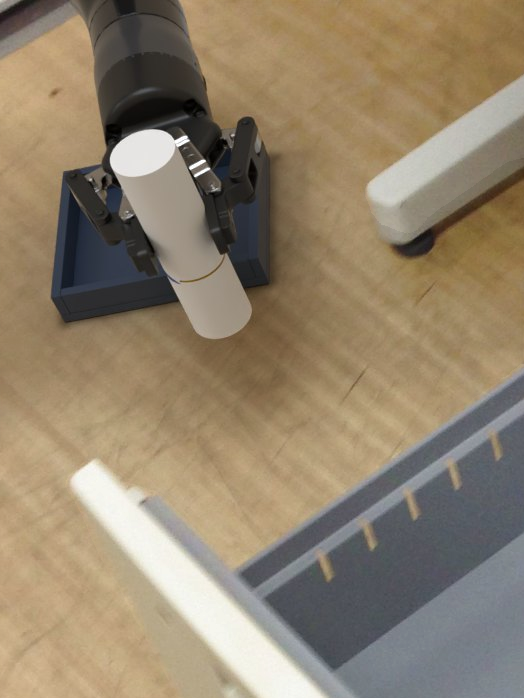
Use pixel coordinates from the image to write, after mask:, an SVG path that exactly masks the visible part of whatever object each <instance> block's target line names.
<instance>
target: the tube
mask: <svg viewBox="0 0 524 698" xmlns="http://www.w3.org/2000/svg"><path fill="white" fill-rule="evenodd" d="M110 164H111V167H112V169H113V171H114V173H115V175H116V177H117V179H118V181H119V183H120V185H121V187H122V189H123V191H124V193H125V194H126V196H127V198H128V200H129V202H130V204H131V206H132V208H133V210H134V212H135V214H136V216H137V218H138V220H139V222H140V224H141V226H142V228H143V230H144V232H145V234H146V235H147V237H148V239H149V241H150V243H151V245H152V247H153V249H154V251H155V253H156V255H157V257H158V259H159V261H160V263H161V265H162V267H163V269H164V271H165V272H166V275H167V277H168V279H169V281H170V283H171V285H172V287H173V288H174V290H175V292H176V294H177V296H178V298H179V302H180V304H181V306H182V308H183V310H184V312H185V314H186V316H187V318H188V319H189V322H190V323H191V327H193V330H194V331H195V332H196V334H197V335H199V336H200V337H203V338H205V339H209V340H219V339H224V338H228V337H230V336H233V335H235V334H236V333H238V332H239V331H241V330H242V329H243V328H244V327H245V326H246V325H247V324H248V323H249V321H250V319H251V316H252V314H253V313H252V312H253V309H252V304H251V302H250V300H249V298H248V296H247V293H246V291H245V288H243V287H242V285H241V283H240V281H239V278H238V276H237V274H236V272H235V270H234V268H233V266H232V263H231V261H230V259H229V257H228V255H227V253H226V254H223V255H220V253H219V251H218V249H217V247H216V245H215V243H214V241H213V238H212V236H211V233H210V230H209V225H208V221H207V216H206V212H205V206H204V203H203V201H202V199H201V197H200V194H199V192H198V190H197V188H196V186H195V184H194V182H193V179H192V177H191V175H190V173H189V171H188V169H187V167H186V164H185V162H184V160H183V158H182V156H181V154H180V151H179V149H178V147H177V145H176V143H175V141H174V139H173V137H172V136H171V135H170V134H168V133H167V132H164V131H162V130H154V129H150V130H143V131H139V132H136V133H134V134H131V135H129V136H128V137H126V138H124V139H123V140H122V141H120V142H119V143H118V144H117V145H116V147H115V148H114V149H113V151H112V153H111V156H110Z"/></svg>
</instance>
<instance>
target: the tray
mask: <svg viewBox="0 0 524 698" xmlns="http://www.w3.org/2000/svg"><path fill="white" fill-rule="evenodd" d="M231 154H232V153H231V151H230V149H227V148H226V150H225V152H224V154H223V155H222V157H221V158H220V160H219V162H218V163H217V165H216V166H215V168H214V169H213V173H214V174H215V175H216V176H217V178H218V179H219V180H220V181H221V180H222V179H224V178H226V177H227V176H229V175H228V169H229V164H230V159H231ZM270 162H271V160H270V156H269V154H268V151H267V148H265V154H264V159H263V165H262V171H261V176H260V182H259V187H258V193H257V198H256V200H255V201H254V202H253V203H251V204H242V203H241V202H240V203H239V204H237V205H236V206H235V207H234V208H233V212H232V216H233V221H234V225H235V229H236V233H237V239H236V242H235V243H232V244H229V246H230V250H231V252H229V253H227V255H228V257H229V259H230V261H231V263H232V266H233V268H234V270H235V272H236V274H237V276H238V278H239V281H240V283H241V285H242V287H243V289H247V288H251V287H257V286H262V285H267V284H270V196H271V195H270V194H271V193H270V190H271V189H270V184H271V183H270V181H271V179H270V177H271V176H270V174H271V173H270V167H271V166H270V165H271V164H270ZM100 167H102V164H101V163H100V164H95V165H89V166H84V167H79V168H75V169H69V170H64V171H62V177H61V178H62V179H61V189H60V197H59V208H58V210H59V211H58V217H57V226H56V227H57V229H56V230H57V231H56V238H55V239H56V240H55V247H54V259H53V269H52V279H51V288H50V300H51V301H52V303H53V305H54V306H55V308H56V310H57V311H58V313H59V315H60V317H61V319H62V320H63V322H64V323H69V322H74V321H75V322H76V321H80V320H86V319H90V318H96V317H101V316H105V315H106V316H107V315H112V314H117V313H122V312H127V311H132V310H138V309H143V308H147V307H152V306H158V305H163V304H168V303H173V302H178V301H179V302H180V300H179V298H178V296H177V294H176V292H175V290H174V288H173V287H172V285H171V283H170V281H169V279H168V277H167V275H166V272H165V271H164V269H163V267H162V265H161V263H160V261H159V259H158V257H157V255H156V253H155V255H156V260H157V265H158V271H159V275H155V276H152V277H148V276H147V274H146V272H145V271H142V272H138V271H137V270H136V268H135V267H134V265H133V263H132V261H131V259H130V257H129V255H128V253H127V247H126V243H125V240H122V241H121V242H120V243H119V244H118V245H115V246H108V245H107V244H106V243H105V242H104V240H103V239H102V237H101V236H100V235H99V233H98V232H97V230H96V229H95V227H94V226H93V225H92V223H91V222H90V220H89V219H88V218H87V216H86V215H85V213H84V212H83V211H82V209H81V208H80V206H79V204H78V203H77V201H76V199H75V197H74V195H73V193H72V192H71V190H70V188H69V186H68V184H67V182H66V180H65V175H66V174H67V173H68V172H69V171H72V170H80V171H81V172H82V174H83V175H84V176H85V175H87V174H89V173H91V172H93V171H94V170H96V169H98V168H100ZM106 191H107V197H106V199H105V201H106V207H107V208H108V210H109V212H119V209H120V205H121V201H122V196H123V194H122V190H121V189H119V188H117V187H116V186H114V185H112V184H110V185H109V186H108V187H107V190H106ZM202 201H203V200H202Z"/></svg>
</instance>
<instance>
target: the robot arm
mask: <svg viewBox="0 0 524 698" xmlns="http://www.w3.org/2000/svg"><path fill="white" fill-rule="evenodd" d="M67 1H68V2H69V4H70V5H71V6H72V8H73V9H74V11H76V13H77V14H78V15H79V16H80V18H81V19H82V20H83V22H84V25H85V26H86V28H87V31H88V34H89V38H90V42H91V43H90V44H91V50H92V56H93V80H94V88H95V93H96V98H97V104H98V111H99V116H100V122H101V127H102V134H103V138H104V143H105V152H104V154H103V156H102V159H101V163H100V164H102V167H100V168H98V169H96V170H94V171H93V172H91V173H89V174H87V175H85V176H84V175H83V174H82V172H81V171H80V170H74V169H71V170H72V171H69V172H68V173H67V174H66V175H65V180H66V182H67V184H68V186H69V188H70V190H71V192H72V193H73V195H74V197H75V199H76V201H77V203H78V204H79V206H80V208H81V209H82V211H83V212H84V213H85V215H86V216H87V218H88V219H89V220H90V222H91V223H92V225H93V226H94V227H95V229H96V230H97V232H98V233H99V235H100V236H101V237H102V239H103V240H104V242H105V243H106V244H107V245H108V246H115V245H118V244H119V243H120V242H121V241H122V240H125V243H126V247H127V253H128V255H129V257H130V259H131V261H132V263H133V265H134V267H135V268H136V270H137V271H138V272H142V271H145V272H146V274H147V276H148V277H152V276H155V275H159V271H158V265H157V260H156V255H155V251H154V249H153V247H152V245H151V243H150V241H149V239H148V237H147V235H146V234H145V232H144V230H143V228H142V226H141V224H140V222H139V220H138V218H137V216H136V214H135V212H134V210H133V208H132V206H131V204H130V202H129V200H128V198H127V196H126V194H125V193H124V191H123V189H122V187H121V185H120V183H119V181H118V179H117V177H116V175H115V173H114V171H113V169H112V167H111V164H110V156H111V153H112V151H113V149H114V148H115V147H116V145H117V144H118V143H119V142H120V141H122V140H123V139H124V138H126V137H128V136H129V135H131V134H134V133H136V132H139V131H143V130H150V129H154V130H162V131H164V132H167V133H168V134H170V135H171V136H172V137H173V139H174V141H175V143H176V145H177V147H178V149H179V151H180V154H181V156H182V158H183V160H184V162H185V164H186V167H187V169H188V171H189V173H190V175H191V177H192V179H193V182H194V184H195V186H196V188H197V190H198V192H199V194H200V197H201V199H202V200H203V203H204V206H205V212H206V216H207V221H208V225H209V230H210V233H211V236H212V238H213V241H214V243H215V245H216V247H217V249H218V251H219V253H220V255H223V254H226V253H229V252H231V250H230V246H229V244H232V243H235V242H236V239H237V233H236V229H235V225H234V221H233V216H232V212H233V208H234V207H235V206H236V205H237V204H239V203H240V202H241V203H242V204H251V203H253V202H254V201H255V200H256V198H257V193H258V187H259V182H260V176H261V171H262V165H263V159H264V154H265V149H266V145H265V143H264V140H263V136H262V135H261V132H260V130H259V128H258V125H257V123H256V121H255V118H254V117H252V116H249V115H248V116H247V115H246V116H243V117H241V118H240V119H239V120H238V121H237V123H236V127H230V128H222V129H221V126H220V125H219V124H217V123H216V121H215V122H214V117H213V113H212V108H211V105H210V100H209V96H208V92H207V91H208V86H207V81H206V77H205V75H204V74H203V70H202V67H201V64H200V61H199V58H198V56H197V54H196V52H195V49H194V48H193V43H192V38H191V35H190V30H189V26H188V22H187V18H186V13H185V11H184V8H183V6H182V3H181V2H180V0H67ZM226 148H227V149H230V151H231V153H232V154H231V159H230V164H229V169H228V175H229V176H227V177H226V178H224V179H222V180H221V181H220V180H219V179H218V178H217V176H216V175H215V174H214V173H213V169H214V168H215V166H216V165H217V163H218V162H219V160H220V158H221V157H222V155H223V154H224V152H225V150H226ZM110 184H112V185H114V186H116V187H117V188H119V189H121V190H122V194H123V196H122V201H121V205H120V209H119V212H109V210H108V208H107V207H106V201H105V199H106V197H107V191H106V190H107V187H108V186H109V185H110Z"/></svg>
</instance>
